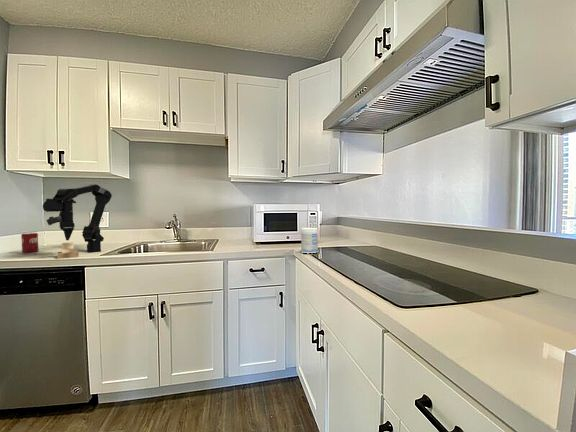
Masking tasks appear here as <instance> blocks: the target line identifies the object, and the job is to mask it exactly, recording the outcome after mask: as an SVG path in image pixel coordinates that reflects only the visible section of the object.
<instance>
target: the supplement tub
mask: <svg viewBox="0 0 576 432" xmlns="http://www.w3.org/2000/svg"><path fill="white" fill-rule="evenodd" d="M318 231H319V230H318V227H302V228H301V237H300V238H301V239H300V240H301V241H300V243H301V246H300V247H301V249H300V250H301V254H303V253H316V252H317V253H318V248H319V246H318V242H319V239H318V238H319V237H318V236H319V235H318V234H319V232H318Z"/></svg>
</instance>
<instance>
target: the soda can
mask: <svg viewBox="0 0 576 432" xmlns="http://www.w3.org/2000/svg"><path fill="white" fill-rule="evenodd" d="M20 235H21V253H22V254H23V255H31V254H33V253H34V254H38V253H39V250H40V249H39V233H38V232H26V233H25V232H24V233H23V232H22V233H21V234H20ZM34 254H33V255H34Z"/></svg>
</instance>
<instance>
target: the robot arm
mask: <svg viewBox="0 0 576 432" xmlns="http://www.w3.org/2000/svg"><path fill="white" fill-rule="evenodd" d="M88 193H91V194H92V196H94V200H95V206H94V210H93V212H92V216H91V218H90V222H89V224H88V225H84V227H83V229H82V231H81V233H82V234H81V235H82V237H83V240H84V242H85V243H87V244H86V252H88V253H97V252H102V247H101V244H102V243H101V242H104V239H105V237H104V236H103V235H101V228H100V224H101V221H102V217H103V214H104V211H105V208H106V205H107V204H108V203H110V201H111V199H112V197H113V195H112V193H111V191H109V190H108V189H106V188H103V187H101V186H100V185H98V184H88V185H85V186H80V187H79V186H78V187H75V188H59V189H58V190H57V191H56V193H55V195H54V196H53V197H52V198H46V199H45V201H44V202H43V204H42V209H43V211H45V212H49V213H50V212H57V213H58V212H59V214H58V216H55V217H54V216H50V217H48V218H47V219H46V224H48V226H52V225H54V224H57V223H59V229H60V230H61V231H63V233H64V237H65V240H66V241H70V238H71V236H72V234H73V232H74V229H75V223H74V210H73V209H74V205H73V204H77V201H76V200H74V198H77V197H78V196H79V195H84V194H88Z"/></svg>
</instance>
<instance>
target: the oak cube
mask: <svg viewBox="0 0 576 432" xmlns="http://www.w3.org/2000/svg"><path fill="white" fill-rule="evenodd" d="M74 248H75V247H74V242H62V243H61V252H62V253H71V252H74V251H75V249H74Z"/></svg>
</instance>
